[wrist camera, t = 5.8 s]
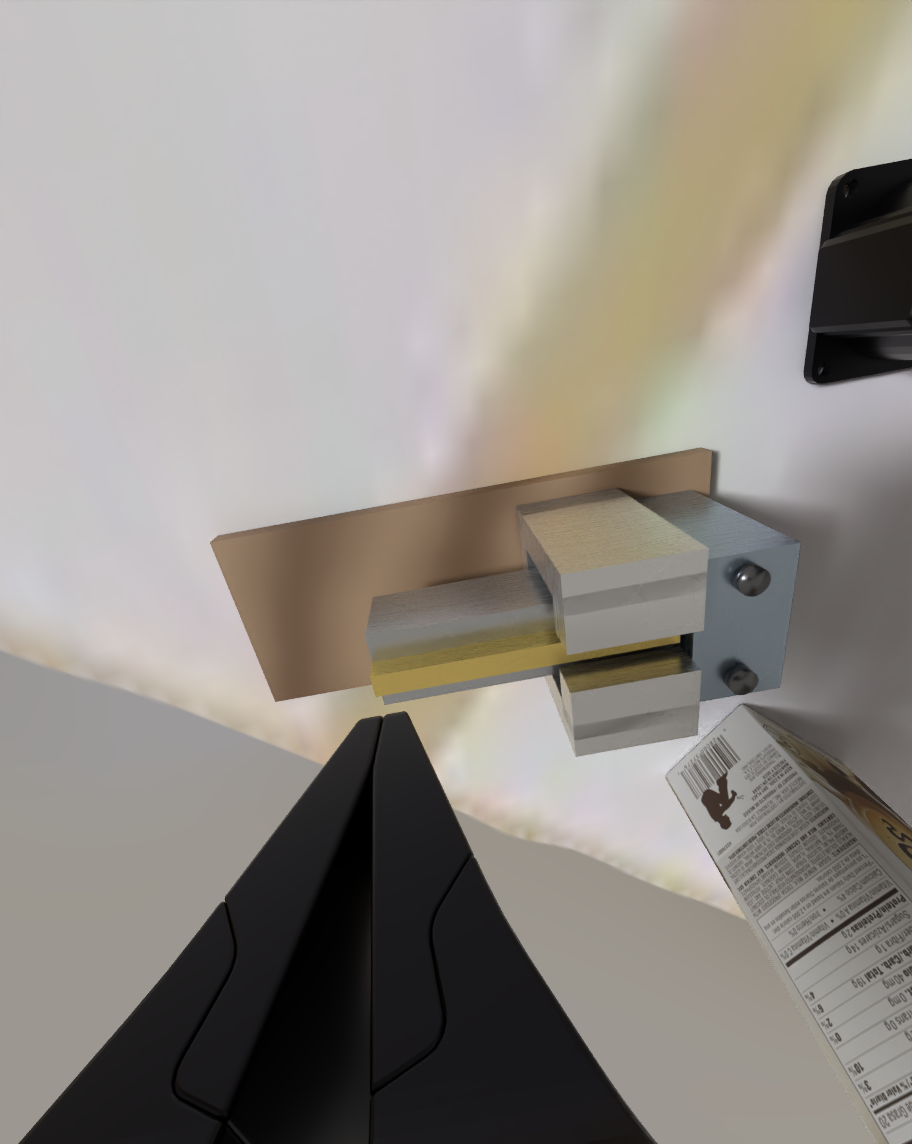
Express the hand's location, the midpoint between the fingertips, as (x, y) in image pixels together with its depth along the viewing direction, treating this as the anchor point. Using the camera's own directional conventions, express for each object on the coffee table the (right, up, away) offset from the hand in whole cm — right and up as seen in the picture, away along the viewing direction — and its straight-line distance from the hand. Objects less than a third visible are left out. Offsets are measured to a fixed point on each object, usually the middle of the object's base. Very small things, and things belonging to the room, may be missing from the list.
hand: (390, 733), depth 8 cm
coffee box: (+18, -8, +19) cm, 27 cm away
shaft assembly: (+5, +3, +12) cm, 13 cm away
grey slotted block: (+6, +3, +13) cm, 14 cm away
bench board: (+2, +2, +13) cm, 13 cm away
